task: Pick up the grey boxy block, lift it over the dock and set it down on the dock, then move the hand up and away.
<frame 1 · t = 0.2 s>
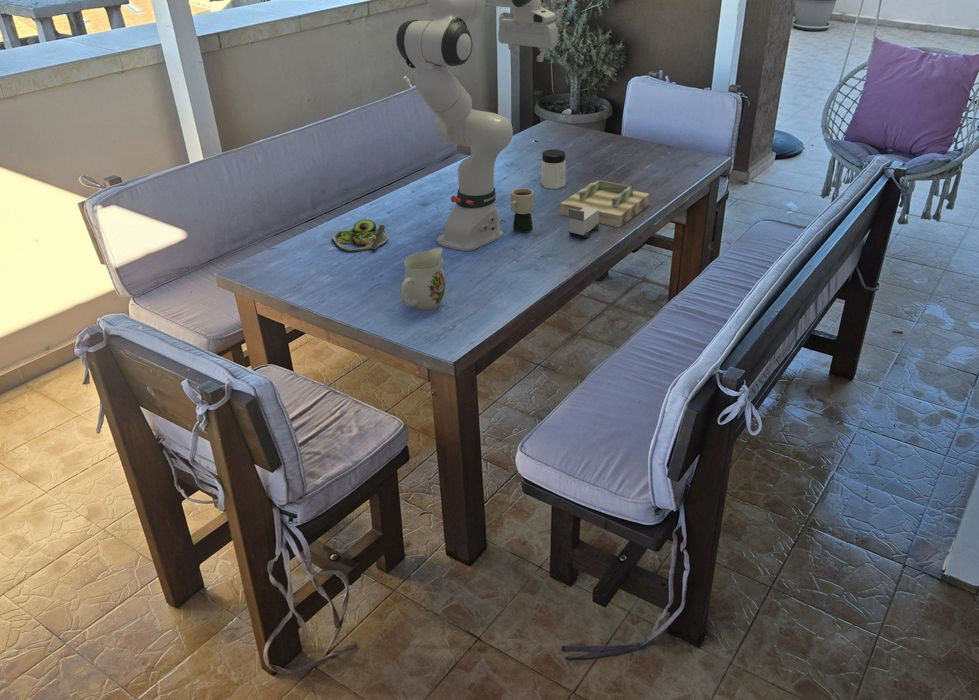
hand: (527, 60, 269), 48 cm above the table, fingers open, 8 cm apart
salad plate: (361, 241, 271), on the table
grey boxy block: (584, 232, 269), on the table
dock: (604, 209, 285), on the table
jar: (553, 185, 307), on the table
character mug: (522, 230, 273), on the table
pitcher: (424, 306, 231), on the table
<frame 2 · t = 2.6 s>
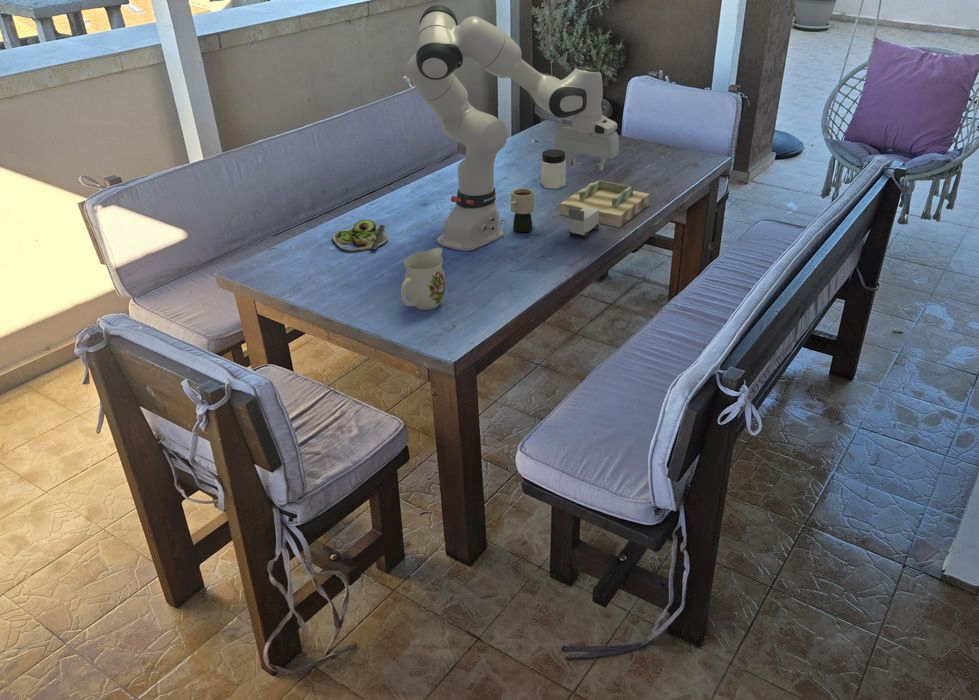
hand: (586, 167, 258), 21 cm above the table, fingers open, 8 cm apart
nothing on the table moved.
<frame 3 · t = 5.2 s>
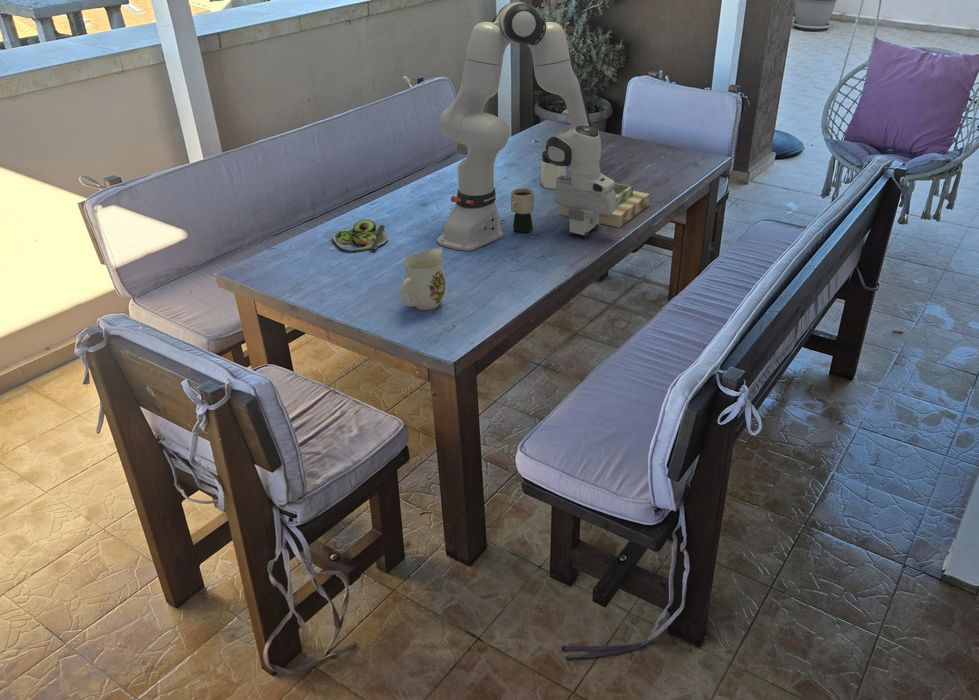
hand: (584, 221, 267), 4 cm above the table, fingers closed on grey boxy block, 5 cm apart
grey boxy block: (584, 232, 269), on the table, touching gripper
everything else where it was.
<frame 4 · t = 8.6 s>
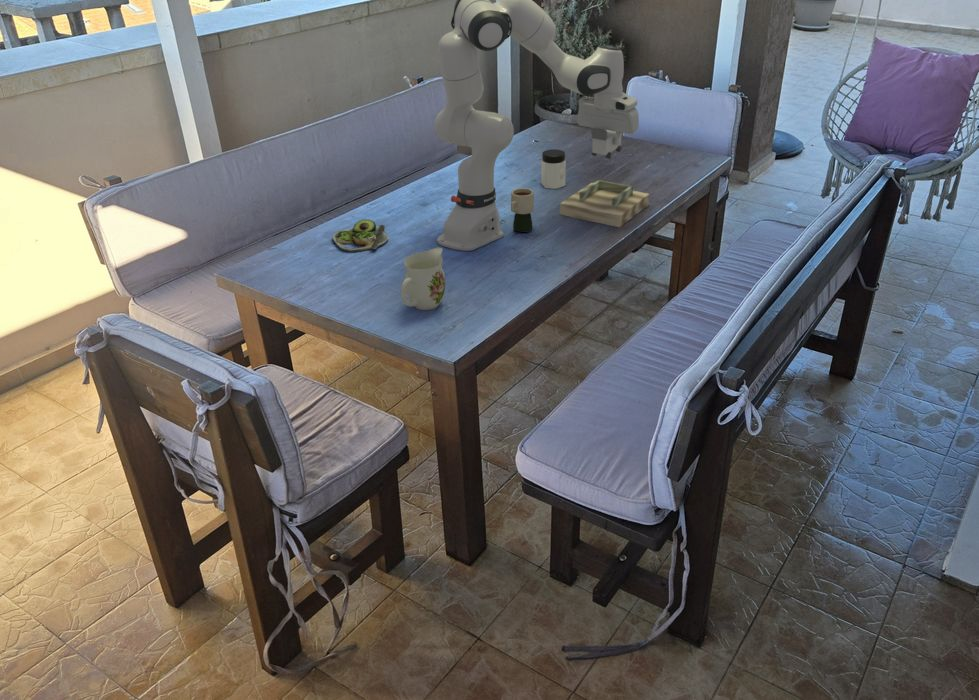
hand: (606, 142, 270), 24 cm above the table, fingers closed on grey boxy block, 5 cm apart
grey boxy block: (606, 153, 272), point 20 cm above the table, touching gripper
everything else where it was.
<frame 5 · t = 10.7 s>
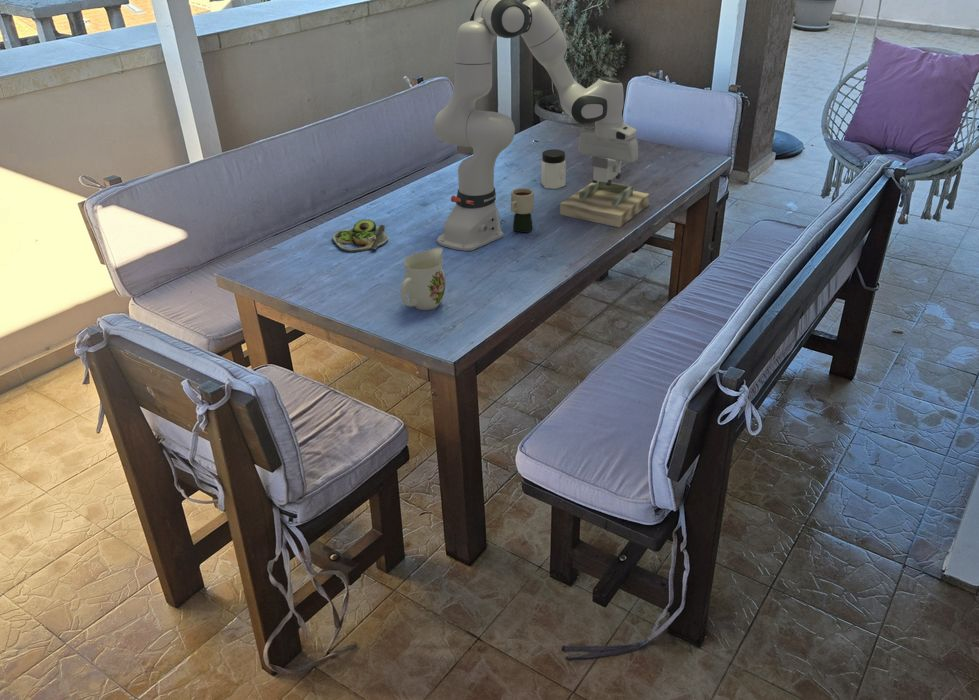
hand: (606, 170, 278), 14 cm above the table, fingers closed on grey boxy block, 5 cm apart
grey boxy block: (606, 180, 280), point 10 cm above the table, touching gripper
everything else where it was.
when the fingers open (9 cm above the table, at t = 12.4 s): grey boxy block drops 1 cm, resting on dock.
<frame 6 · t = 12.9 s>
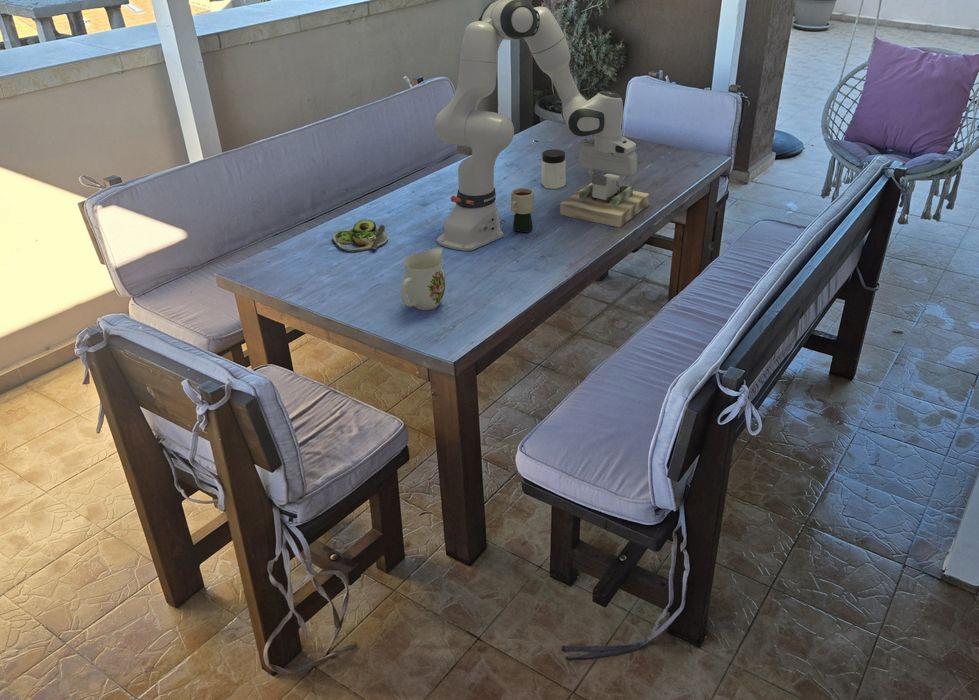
hand: (606, 183, 280), 9 cm above the table, fingers open, 8 cm apart
grey boxy block: (606, 197, 283), point 4 cm above the table, touching dock
everything else where it was.
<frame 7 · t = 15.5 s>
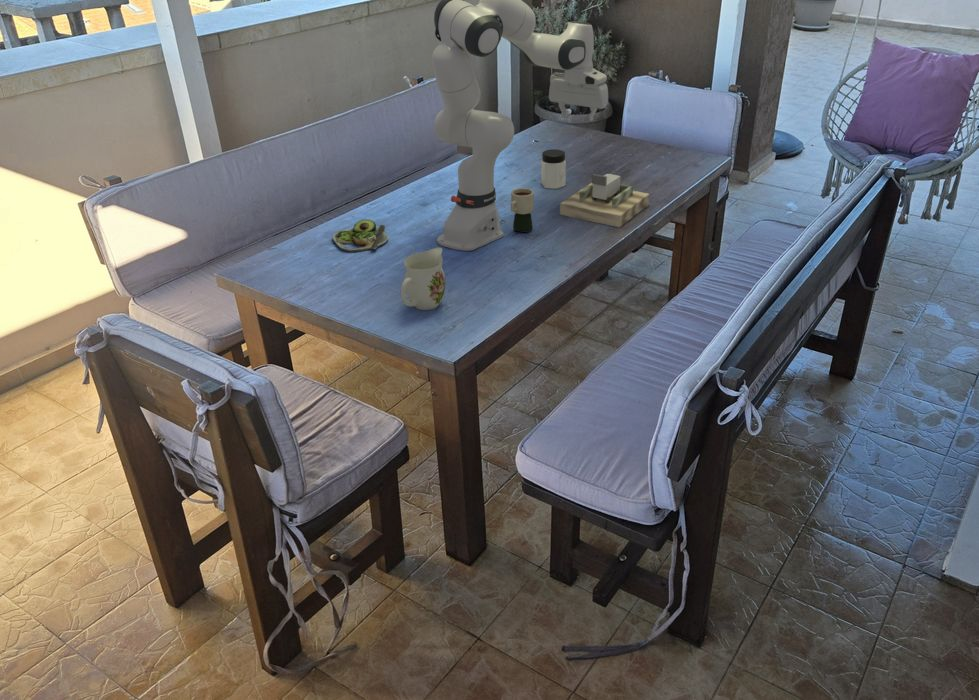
hand: (577, 118, 275), 29 cm above the table, fingers open, 8 cm apart
nothing on the table moved.
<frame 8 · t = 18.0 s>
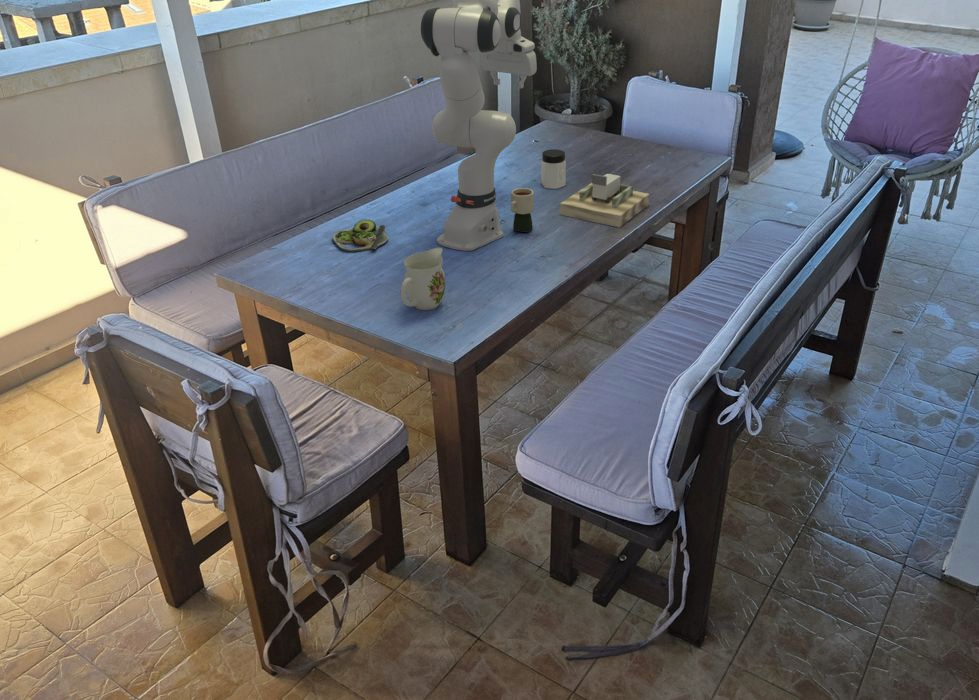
hand: (508, 86, 283), 37 cm above the table, fingers open, 8 cm apart
nothing on the table moved.
at the end: grey boxy block inside the target area on the dock (0.2 cm from its centre), point 4.0 cm above the dock's base; grey boxy block tilted 0°; the gripper is holding nothing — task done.
